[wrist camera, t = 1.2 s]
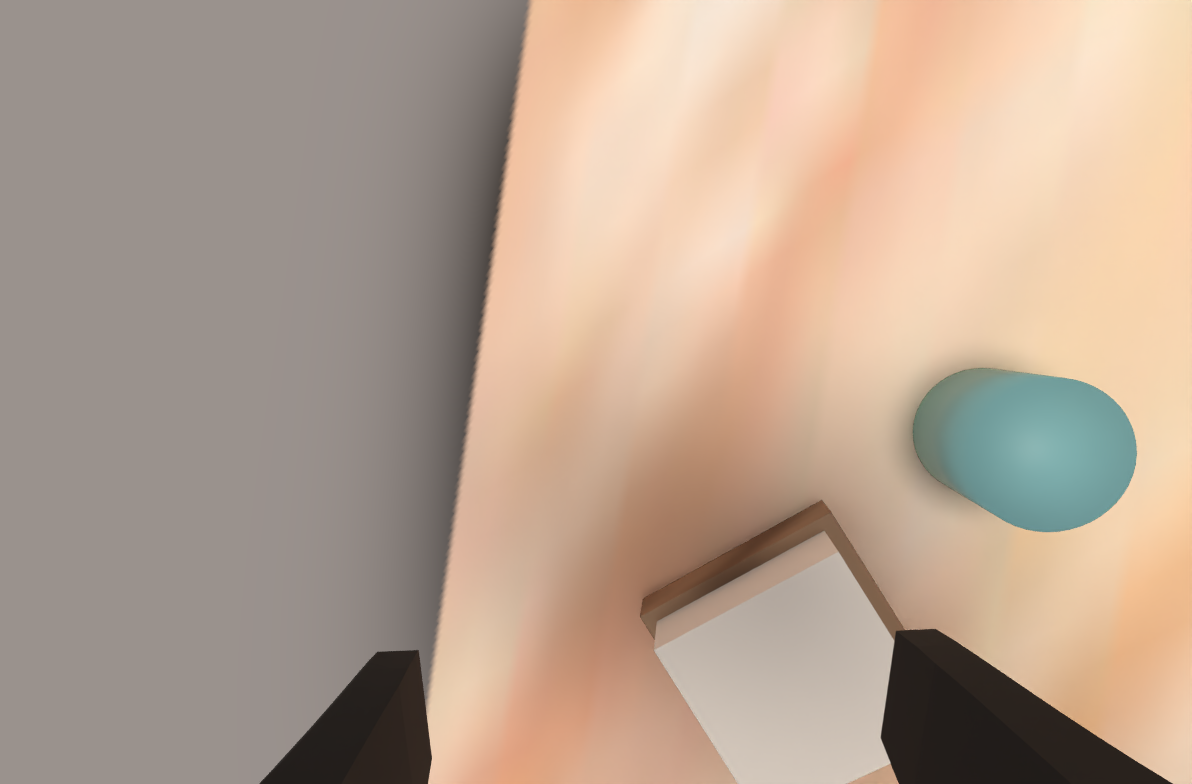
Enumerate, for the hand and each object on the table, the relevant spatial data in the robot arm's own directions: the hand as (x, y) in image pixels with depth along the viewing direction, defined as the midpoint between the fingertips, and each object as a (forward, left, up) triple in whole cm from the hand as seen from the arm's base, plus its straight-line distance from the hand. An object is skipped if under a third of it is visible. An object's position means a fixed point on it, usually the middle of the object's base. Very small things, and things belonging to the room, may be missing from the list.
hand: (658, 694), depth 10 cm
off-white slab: (-4, +7, -14) cm, 16 cm away
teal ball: (-11, -1, -16) cm, 19 cm away
